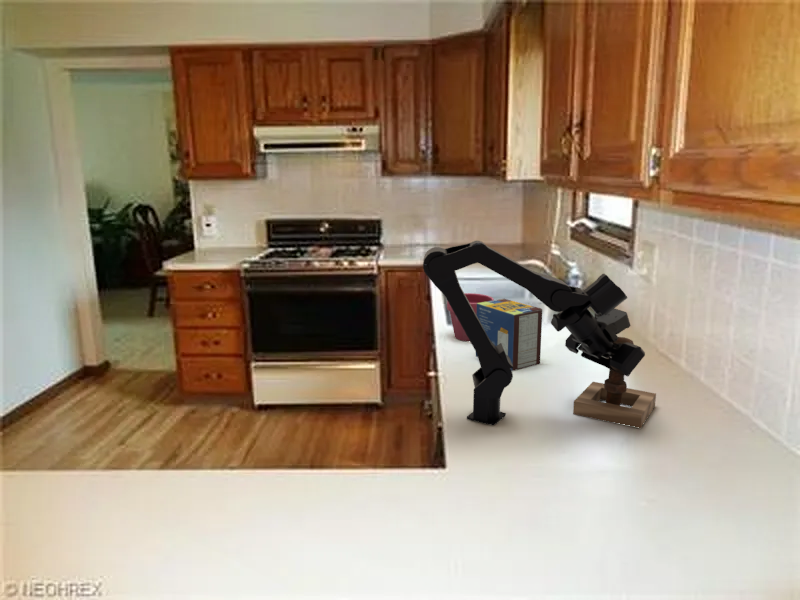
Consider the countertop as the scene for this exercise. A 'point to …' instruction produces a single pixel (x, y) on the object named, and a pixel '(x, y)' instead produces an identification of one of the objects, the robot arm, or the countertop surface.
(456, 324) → the plant pot
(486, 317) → the protein box
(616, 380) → the bolt
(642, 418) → the block
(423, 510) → the countertop surface
